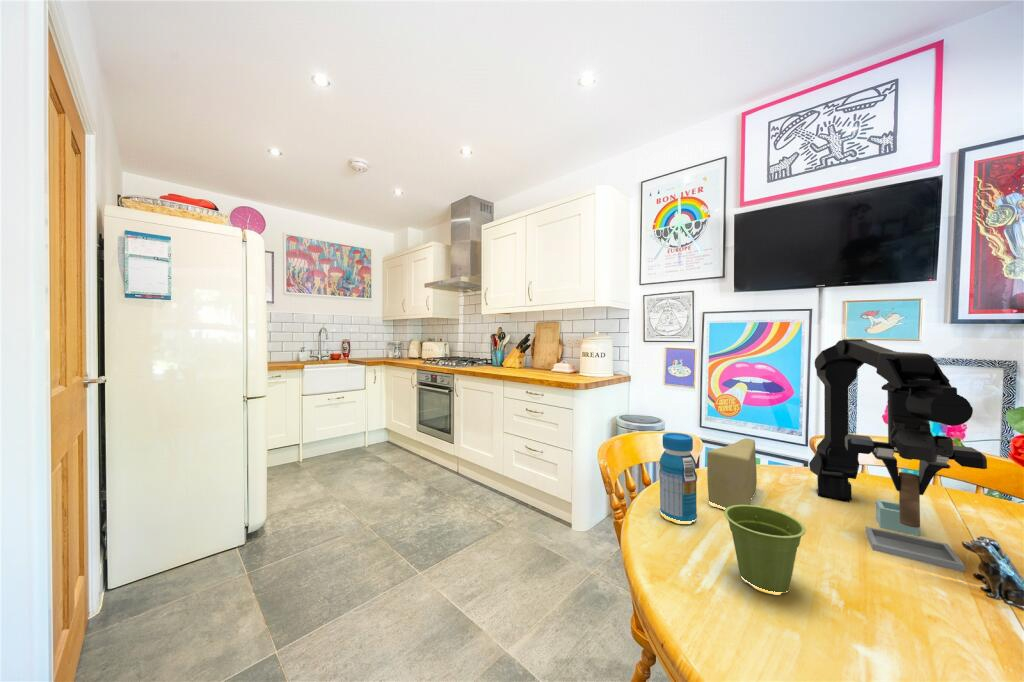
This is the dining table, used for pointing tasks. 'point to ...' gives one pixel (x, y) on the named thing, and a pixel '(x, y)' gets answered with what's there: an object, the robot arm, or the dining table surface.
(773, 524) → the plant pot
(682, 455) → the beverage bottle
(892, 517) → the open box
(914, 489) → the dowel
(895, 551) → the tray
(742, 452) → the cheese
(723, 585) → the dining table surface
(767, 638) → the dining table surface
